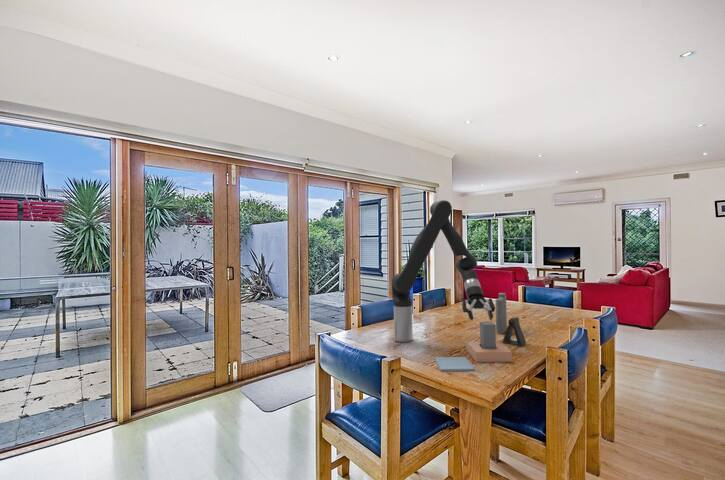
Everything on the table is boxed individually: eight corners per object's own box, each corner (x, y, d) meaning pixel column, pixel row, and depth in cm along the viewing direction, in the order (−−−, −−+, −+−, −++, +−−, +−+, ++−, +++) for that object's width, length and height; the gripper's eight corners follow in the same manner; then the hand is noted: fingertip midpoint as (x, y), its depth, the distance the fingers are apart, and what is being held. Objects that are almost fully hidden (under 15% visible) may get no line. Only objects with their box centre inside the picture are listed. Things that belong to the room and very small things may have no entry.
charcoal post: (484, 357, 145) (483, 324, 145) (480, 353, 150) (479, 321, 150) (496, 357, 145) (495, 324, 145) (492, 353, 150) (491, 321, 150)
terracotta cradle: (476, 361, 140) (476, 352, 140) (466, 350, 155) (466, 341, 155) (511, 361, 140) (511, 351, 140) (498, 349, 154) (498, 341, 154)
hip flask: (501, 326, 194) (500, 290, 194) (508, 327, 192) (508, 291, 192) (495, 333, 181) (494, 295, 181) (503, 334, 179) (503, 295, 179)
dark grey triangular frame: (526, 343, 163) (525, 318, 163) (522, 346, 158) (521, 320, 158) (506, 339, 169) (506, 315, 169) (502, 342, 164) (501, 317, 164)
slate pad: (440, 371, 131) (440, 369, 131) (434, 359, 144) (434, 357, 144) (475, 370, 131) (474, 368, 131) (465, 358, 144) (465, 356, 144)
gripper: (460, 285, 164) (467, 315, 153) (490, 285, 164) (499, 314, 152) (457, 294, 170) (464, 323, 158) (486, 294, 169) (495, 323, 158)
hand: (481, 319), depth 155 cm, fingers open, 8 cm apart
